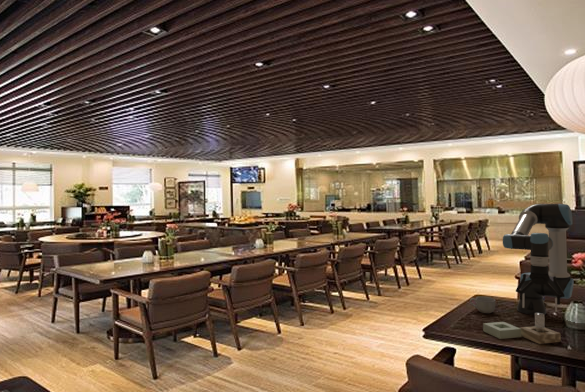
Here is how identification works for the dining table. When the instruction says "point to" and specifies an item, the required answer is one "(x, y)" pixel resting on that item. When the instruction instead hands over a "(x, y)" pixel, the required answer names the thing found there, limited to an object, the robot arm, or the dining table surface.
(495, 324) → the socket block
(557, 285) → the robot arm
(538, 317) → the lock pin
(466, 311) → the dining table surface
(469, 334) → the dining table surface
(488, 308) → the teacup
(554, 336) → the block
